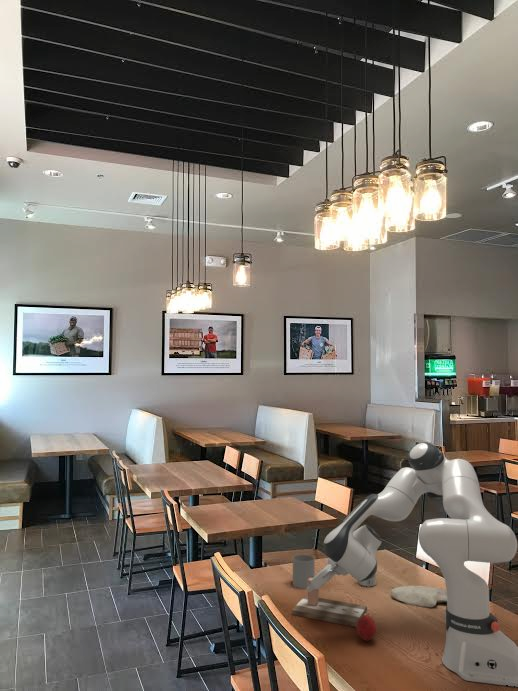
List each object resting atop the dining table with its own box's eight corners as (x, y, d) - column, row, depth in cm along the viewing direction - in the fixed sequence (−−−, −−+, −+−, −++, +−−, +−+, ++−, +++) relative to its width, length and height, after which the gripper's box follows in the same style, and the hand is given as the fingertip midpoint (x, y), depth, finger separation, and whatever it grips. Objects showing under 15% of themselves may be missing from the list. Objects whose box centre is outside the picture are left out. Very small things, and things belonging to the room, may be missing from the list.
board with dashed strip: (367, 610, 187) (367, 605, 187) (356, 627, 174) (356, 621, 174) (306, 599, 196) (306, 594, 196) (292, 614, 183) (292, 609, 183)
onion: (372, 647, 161) (372, 618, 161) (353, 642, 164) (353, 614, 164) (379, 639, 166) (378, 612, 166) (361, 634, 169) (360, 607, 169)
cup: (313, 589, 206) (313, 562, 207) (291, 587, 208) (291, 560, 209) (315, 581, 214) (315, 555, 215) (294, 580, 216) (294, 554, 217)
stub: (318, 603, 188) (318, 579, 189) (316, 605, 186) (316, 581, 187) (310, 601, 189) (310, 577, 190) (307, 604, 187) (307, 579, 188)
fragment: (457, 609, 190) (455, 595, 189) (399, 616, 189) (398, 602, 189) (441, 588, 205) (440, 575, 204) (388, 595, 204) (386, 582, 204)
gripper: (338, 578, 175) (308, 603, 179) (355, 560, 194) (328, 583, 197) (325, 561, 177) (296, 587, 181) (343, 545, 196) (316, 568, 199)
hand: (312, 585), depth 189 cm, fingers open, 8 cm apart
